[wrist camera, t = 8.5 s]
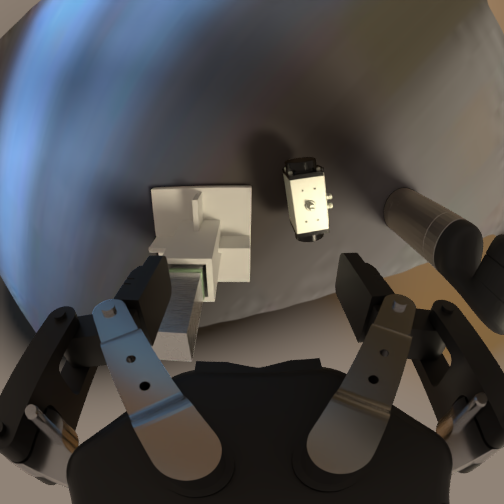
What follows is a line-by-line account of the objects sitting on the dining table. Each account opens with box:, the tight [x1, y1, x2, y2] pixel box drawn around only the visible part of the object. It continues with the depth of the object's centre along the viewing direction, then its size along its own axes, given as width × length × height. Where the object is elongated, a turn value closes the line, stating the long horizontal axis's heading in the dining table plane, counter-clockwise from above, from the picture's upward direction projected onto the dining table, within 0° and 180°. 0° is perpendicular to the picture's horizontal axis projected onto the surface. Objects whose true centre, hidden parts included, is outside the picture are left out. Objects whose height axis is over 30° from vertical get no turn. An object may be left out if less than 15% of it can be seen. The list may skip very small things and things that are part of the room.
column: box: [151, 264, 207, 362], centre depth 33 cm, size 4×4×20 cm
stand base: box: [149, 186, 252, 302], centre depth 41 cm, size 17×18×16 cm
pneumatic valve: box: [282, 157, 333, 242], centre depth 40 cm, size 6×12×12 cm, turn 10°
